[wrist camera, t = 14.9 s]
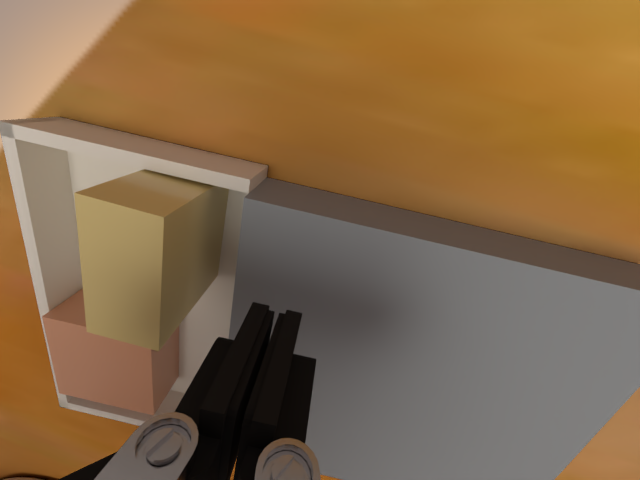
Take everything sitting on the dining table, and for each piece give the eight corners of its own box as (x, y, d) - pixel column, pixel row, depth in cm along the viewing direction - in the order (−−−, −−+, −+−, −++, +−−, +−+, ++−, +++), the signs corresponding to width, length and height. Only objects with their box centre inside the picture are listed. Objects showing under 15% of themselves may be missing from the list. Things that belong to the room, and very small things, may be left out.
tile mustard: (158, 351, 11) (86, 331, 11) (217, 275, 15) (167, 261, 15) (163, 217, 9) (74, 192, 9) (230, 175, 13) (172, 159, 13)
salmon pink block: (59, 393, 16) (95, 356, 18) (153, 415, 16) (178, 376, 18) (41, 316, 14) (85, 286, 16) (150, 341, 14) (179, 307, 16)
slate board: (493, 461, 19) (515, 521, 16) (236, 399, 19) (216, 448, 17) (638, 264, 13) (712, 307, 10) (266, 177, 13) (243, 197, 11)
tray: (235, 404, 19) (219, 445, 17) (94, 370, 20) (59, 406, 17) (268, 165, 13) (249, 180, 11) (59, 116, 13) (-3, 120, 11)
